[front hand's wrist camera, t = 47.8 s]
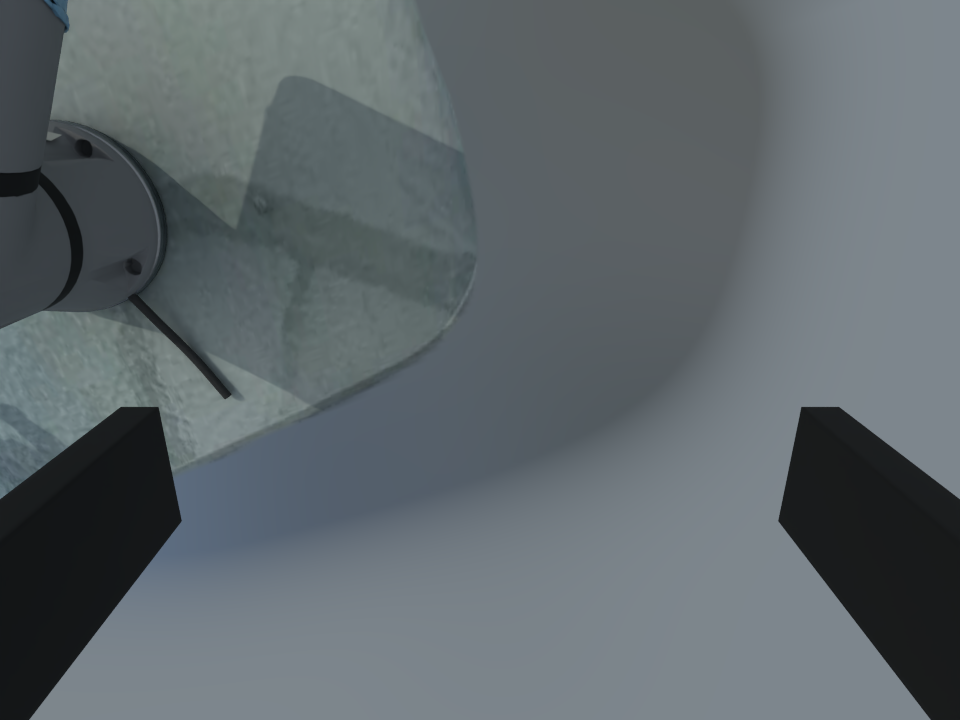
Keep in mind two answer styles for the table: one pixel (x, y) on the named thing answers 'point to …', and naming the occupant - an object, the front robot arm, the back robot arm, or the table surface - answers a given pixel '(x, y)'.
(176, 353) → the table surface
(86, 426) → the table surface
